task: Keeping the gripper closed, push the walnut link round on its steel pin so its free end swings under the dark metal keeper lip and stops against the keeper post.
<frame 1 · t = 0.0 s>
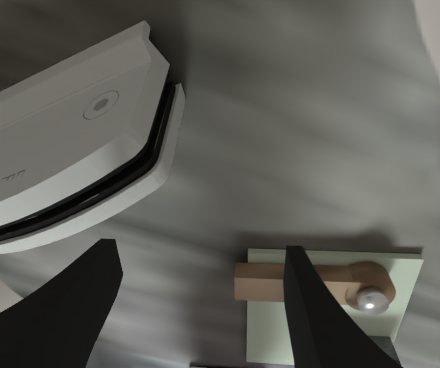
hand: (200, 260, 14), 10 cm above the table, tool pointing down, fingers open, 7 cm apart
link: (311, 284, 26), point 2 cm above the table, hinge at 0.0°
base board: (321, 312, 29), on the table
keeper: (352, 341, 31), resting on base board
hinge: (74, 126, 23), on the table
pin: (360, 271, 27), resting on base board
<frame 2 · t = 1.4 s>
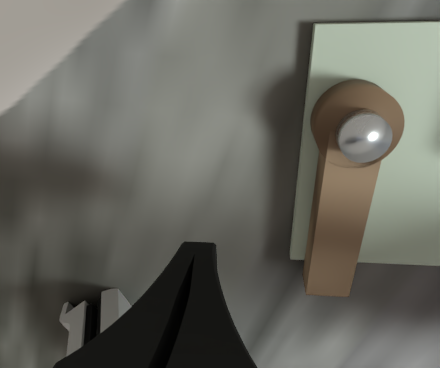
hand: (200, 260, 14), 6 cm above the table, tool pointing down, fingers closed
link: (340, 201, 17), point 2 cm above the table, hinge at 0.0°
base board: (438, 161, 17), on the table
hinge: (158, 353, 28), on the table
pin: (345, 113, 16), resting on base board
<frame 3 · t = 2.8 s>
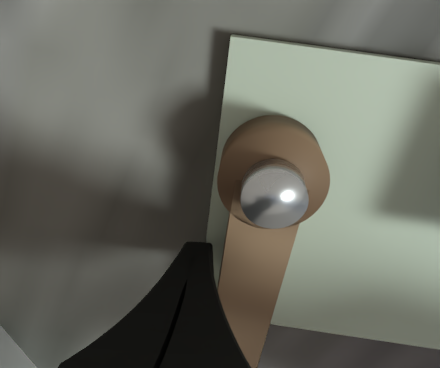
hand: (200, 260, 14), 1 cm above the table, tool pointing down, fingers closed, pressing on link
link: (251, 261, 14), point 2 cm above the table, hinge at 0.0°, touching gripper
base board: (376, 224, 14), on the table
pin: (269, 153, 13), resting on base board
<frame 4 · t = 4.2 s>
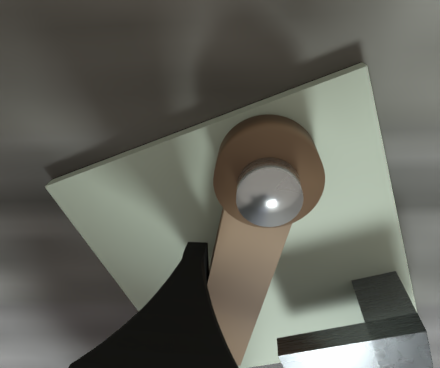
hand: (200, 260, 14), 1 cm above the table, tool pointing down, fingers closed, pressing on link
link: (242, 258, 14), point 2 cm above the table, hinge at 57.1°, touching gripper
base board: (249, 260, 16), on the table
keeper: (338, 299, 17), resting on base board
pin: (265, 152, 13), resting on base board
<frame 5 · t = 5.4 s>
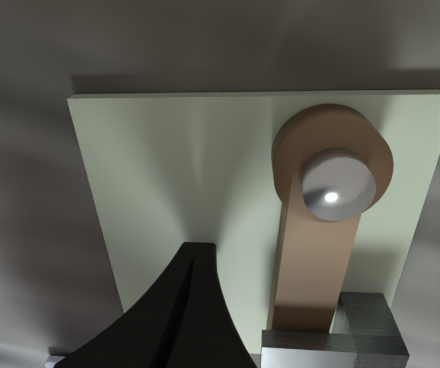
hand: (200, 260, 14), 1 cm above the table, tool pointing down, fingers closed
link: (309, 257, 13), point 2 cm above the table, hinge at 87.3°
base board: (250, 246, 15), on the table
keeper: (314, 306, 17), resting on base board
pin: (319, 144, 12), resting on base board
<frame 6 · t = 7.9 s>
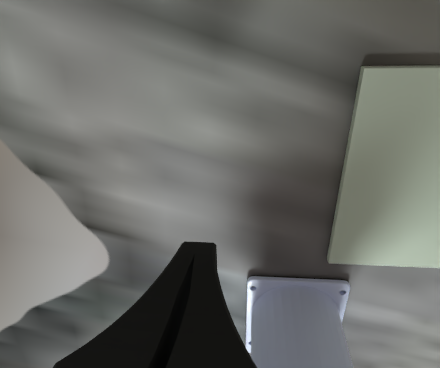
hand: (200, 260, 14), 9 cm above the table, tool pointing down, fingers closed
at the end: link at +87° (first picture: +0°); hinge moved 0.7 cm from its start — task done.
